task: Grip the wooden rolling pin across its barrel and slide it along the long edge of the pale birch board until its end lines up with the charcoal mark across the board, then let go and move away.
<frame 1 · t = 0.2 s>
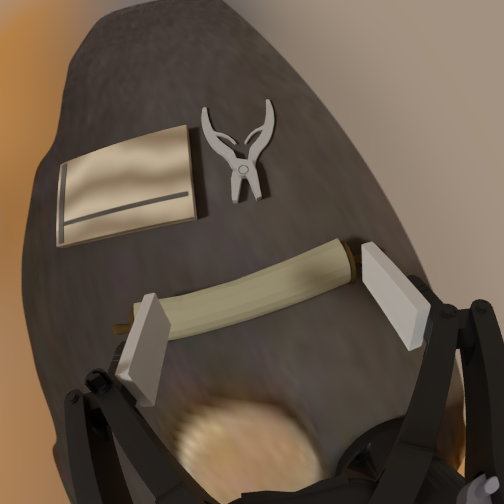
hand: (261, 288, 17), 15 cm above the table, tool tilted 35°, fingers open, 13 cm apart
pliers: (241, 150, 35), on the table
rolling pin: (242, 295, 33), on the table
marking board: (119, 188, 35), on the table
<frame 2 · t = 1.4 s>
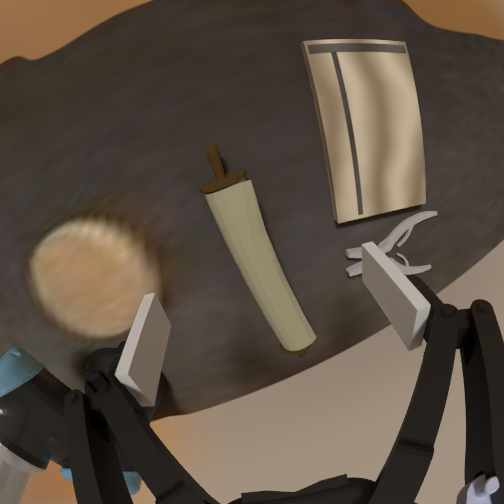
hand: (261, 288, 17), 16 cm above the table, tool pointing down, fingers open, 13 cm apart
pliers: (391, 248, 36), on the table
rolling pin: (264, 263, 35), on the table
marking board: (371, 125, 28), on the table
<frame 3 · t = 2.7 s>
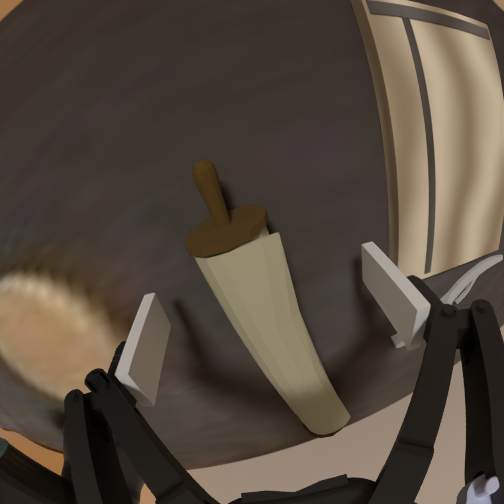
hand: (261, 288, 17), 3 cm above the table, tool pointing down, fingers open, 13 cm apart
pliers: (447, 304, 24), on the table
rolling pin: (289, 336, 23), on the table
marking board: (450, 139, 16), on the table
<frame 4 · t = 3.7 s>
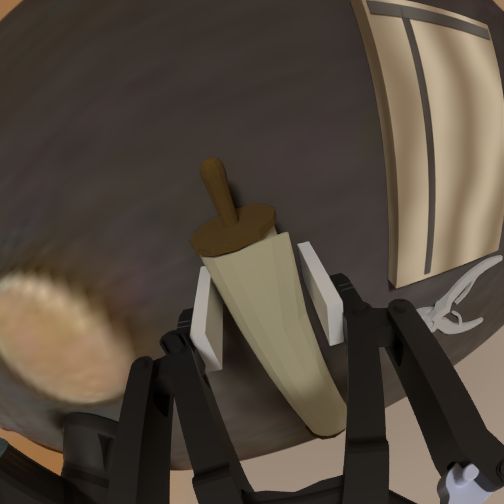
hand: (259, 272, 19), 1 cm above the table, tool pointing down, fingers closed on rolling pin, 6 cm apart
pliers: (446, 305, 24), on the table
rolling pin: (293, 337, 23), on the table, touching gripper
marking board: (450, 139, 16), on the table
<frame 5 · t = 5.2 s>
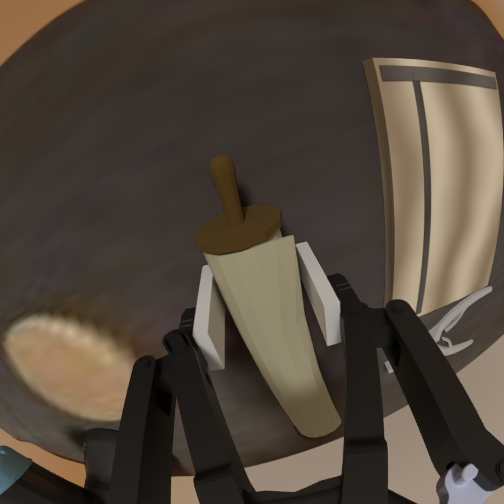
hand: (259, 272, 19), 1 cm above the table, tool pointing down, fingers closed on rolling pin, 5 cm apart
pliers: (437, 332, 26), on the table
rolling pin: (288, 338, 23), on the table, touching gripper
marking board: (447, 194, 18), on the table
when the fingers open (1 cm above the table, at t = 6.9 s): rolling pin stays where it is, on the table.
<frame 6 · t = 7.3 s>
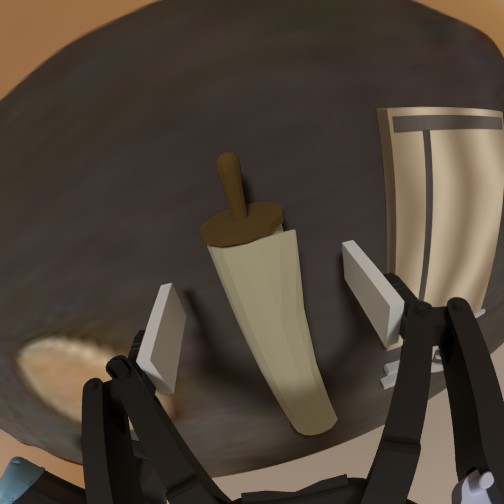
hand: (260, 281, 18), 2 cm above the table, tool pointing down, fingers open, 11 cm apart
pliers: (431, 351, 28), on the table
rolling pin: (285, 335, 24), on the table
marking board: (447, 231, 20), on the table
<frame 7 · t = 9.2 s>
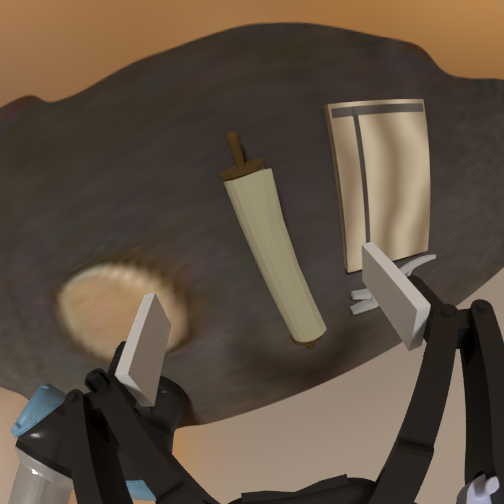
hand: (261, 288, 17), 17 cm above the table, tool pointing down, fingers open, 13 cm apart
pliers: (392, 288, 40), on the table
rolling pin: (278, 253, 36), on the table
marking board: (384, 183, 32), on the table
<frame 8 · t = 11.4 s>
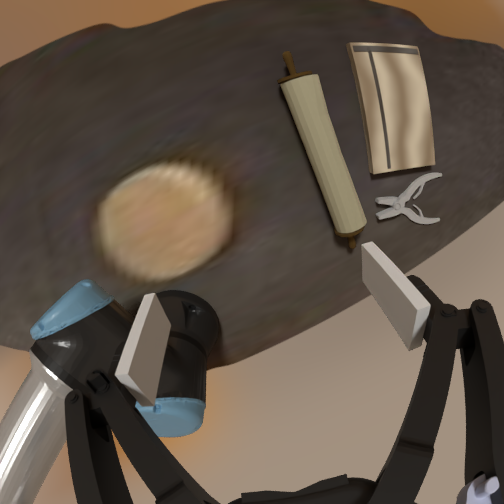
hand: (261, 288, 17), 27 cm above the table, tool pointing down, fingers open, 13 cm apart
pliers: (408, 200, 44), on the table
rolling pin: (321, 153, 40), on the table
marking board: (394, 105, 36), on the table
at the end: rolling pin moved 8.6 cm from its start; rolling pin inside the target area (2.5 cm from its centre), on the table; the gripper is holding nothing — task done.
